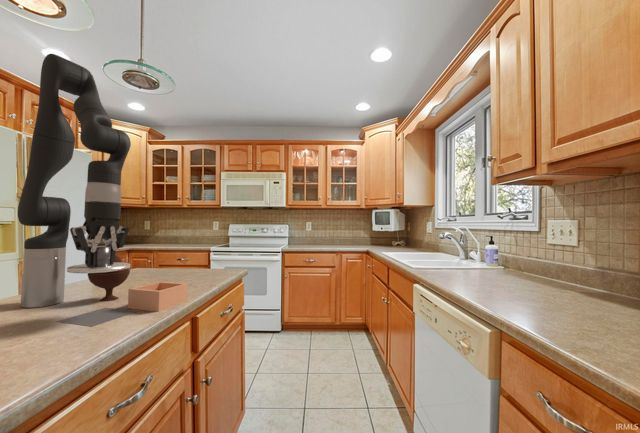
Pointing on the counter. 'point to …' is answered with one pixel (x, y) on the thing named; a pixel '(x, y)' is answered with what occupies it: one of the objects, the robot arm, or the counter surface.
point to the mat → (97, 317)
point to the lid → (100, 263)
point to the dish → (157, 296)
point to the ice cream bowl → (109, 280)
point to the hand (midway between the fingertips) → (100, 265)
